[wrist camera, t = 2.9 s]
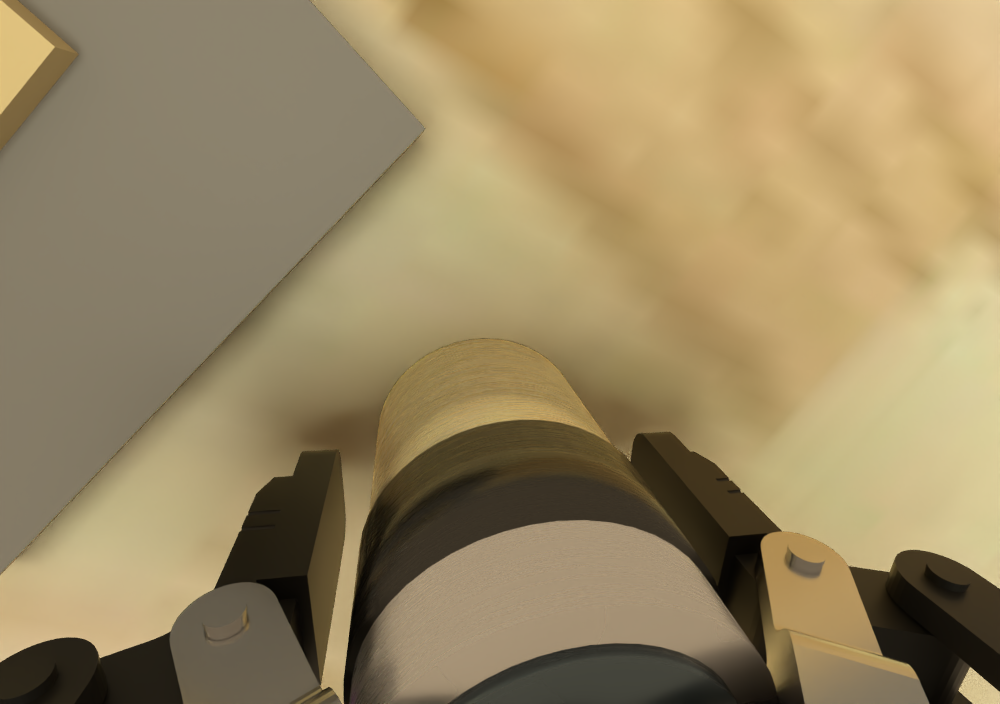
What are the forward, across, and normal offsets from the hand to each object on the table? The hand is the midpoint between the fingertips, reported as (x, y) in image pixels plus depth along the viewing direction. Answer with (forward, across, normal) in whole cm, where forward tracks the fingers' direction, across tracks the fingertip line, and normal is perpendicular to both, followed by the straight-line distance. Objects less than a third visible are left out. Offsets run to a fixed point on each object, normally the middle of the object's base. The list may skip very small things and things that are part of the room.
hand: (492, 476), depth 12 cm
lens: (+2, 0, 0) cm, 2 cm away
